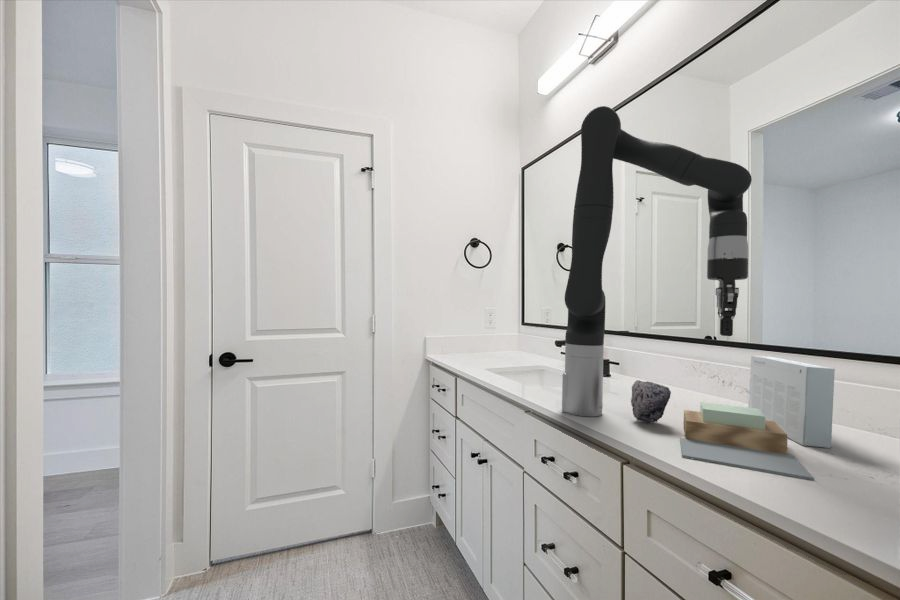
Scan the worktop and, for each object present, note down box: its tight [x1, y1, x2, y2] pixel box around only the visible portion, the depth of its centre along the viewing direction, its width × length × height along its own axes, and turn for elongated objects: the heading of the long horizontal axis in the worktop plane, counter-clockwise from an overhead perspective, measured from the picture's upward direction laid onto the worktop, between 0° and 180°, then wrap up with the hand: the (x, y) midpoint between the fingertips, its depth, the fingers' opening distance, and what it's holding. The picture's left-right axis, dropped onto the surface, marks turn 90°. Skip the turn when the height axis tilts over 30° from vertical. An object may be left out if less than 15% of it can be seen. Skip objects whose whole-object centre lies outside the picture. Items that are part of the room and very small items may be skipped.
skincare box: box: [747, 355, 836, 449], centre depth 89 cm, size 21×5×16 cm, turn 168°
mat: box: [679, 437, 815, 481], centre depth 72 cm, size 18×11×1 cm, turn 62°
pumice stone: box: [630, 380, 672, 424], centre depth 93 cm, size 10×8×10 cm
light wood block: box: [683, 409, 788, 455], centre depth 81 cm, size 16×10×4 cm, turn 62°
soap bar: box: [699, 401, 765, 430], centre depth 81 cm, size 10×7×2 cm
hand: (726, 335), depth 89 cm, fingers closed
